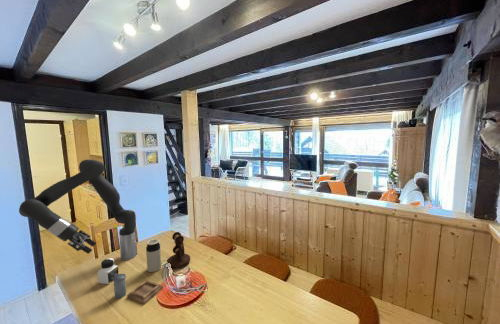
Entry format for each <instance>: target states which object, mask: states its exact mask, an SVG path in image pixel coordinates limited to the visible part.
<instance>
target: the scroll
mask: <svg viewBox="0 0 500 324" xmlns="http://www.w3.org/2000/svg"><path fill="white" fill-rule="evenodd" d="M171 238H172V240H173V241H174V244H175V245H174V247H173V248H172V252H173V253H174V254H173V255H171V256H169V257H168V258H167V259H166V263H167V262H168V263H170V264H171V266H172V267H173V268H174V269H175V268H179V267H180V268H181V267H183V266H186V265H189V264H190V261H191V256H190V254H188V253H185V243H184V240H185V238H184V236H183V235H182V234H181V232H179V231H175V232H174V233H173V234H172V237H171ZM172 267H171V268H172ZM173 268H172V269H173Z"/></svg>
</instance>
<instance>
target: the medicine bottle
mask: <svg viewBox="0 0 500 324" xmlns="http://www.w3.org/2000/svg"><path fill="white" fill-rule="evenodd" d="M100 265H101V267H100V269H99V270H97V279H98V280H97V281H98V284H103V285H104V284H105V285H110V284H111V283H113V282H114V281H113V278H114V277H115V276H116V275H118V274H119V265H116V264H115V259H114V258H111V257H109V258H105V259H103V260H102V261H101V264H100Z"/></svg>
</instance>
